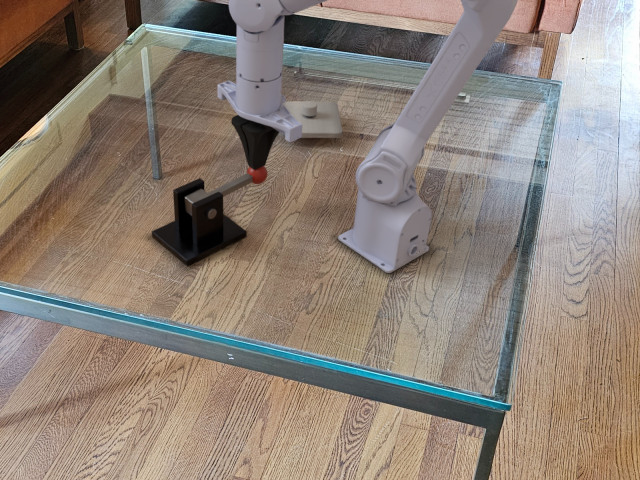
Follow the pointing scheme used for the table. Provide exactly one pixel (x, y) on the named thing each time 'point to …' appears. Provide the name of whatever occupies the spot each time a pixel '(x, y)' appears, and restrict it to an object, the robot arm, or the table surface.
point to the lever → (228, 186)
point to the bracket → (198, 226)
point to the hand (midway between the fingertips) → (256, 165)
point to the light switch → (316, 118)
